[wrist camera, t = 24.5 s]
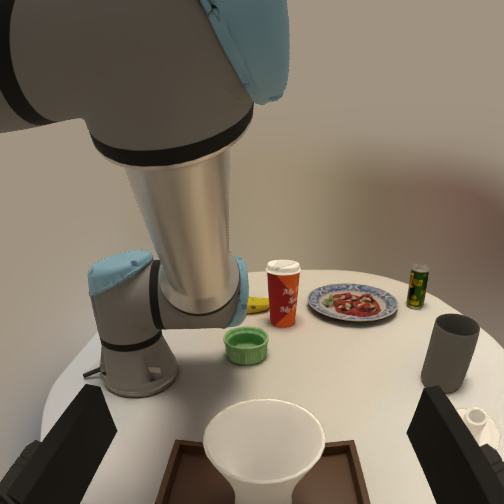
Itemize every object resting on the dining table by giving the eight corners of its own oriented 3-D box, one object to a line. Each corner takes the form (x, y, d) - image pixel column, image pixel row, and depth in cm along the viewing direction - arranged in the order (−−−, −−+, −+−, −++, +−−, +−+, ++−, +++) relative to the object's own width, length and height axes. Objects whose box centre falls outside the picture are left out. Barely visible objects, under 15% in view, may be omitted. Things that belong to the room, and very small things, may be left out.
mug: (453, 400, 39) (475, 341, 36) (412, 383, 46) (427, 326, 43) (472, 364, 47) (488, 312, 44) (436, 352, 54) (449, 302, 51)
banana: (276, 298, 78) (269, 287, 93) (208, 296, 77) (212, 285, 92) (275, 315, 78) (269, 301, 93) (208, 313, 77) (212, 299, 92)
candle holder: (509, 444, 25) (522, 424, 24) (456, 475, 24) (469, 456, 23) (473, 404, 37) (481, 384, 36) (421, 424, 36) (429, 404, 35)
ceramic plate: (398, 295, 86) (399, 286, 86) (395, 334, 64) (397, 323, 64) (320, 285, 98) (321, 277, 97) (293, 318, 76) (294, 308, 75)
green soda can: (409, 300, 82) (414, 262, 79) (425, 304, 78) (431, 265, 75) (403, 306, 78) (409, 266, 75) (420, 311, 75) (426, 270, 72)
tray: (150, 547, 19) (143, 539, 18) (178, 451, 35) (175, 439, 34) (372, 549, 17) (379, 542, 17) (350, 451, 34) (353, 439, 33)
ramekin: (230, 370, 55) (228, 351, 54) (220, 347, 63) (219, 329, 62) (274, 362, 57) (275, 343, 56) (260, 341, 66) (260, 323, 65)
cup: (223, 468, 31) (213, 395, 28) (306, 470, 31) (319, 397, 27) (211, 534, 21) (191, 477, 18) (310, 537, 20) (332, 481, 17)
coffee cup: (290, 332, 69) (292, 271, 65) (259, 325, 73) (259, 266, 69) (304, 318, 76) (306, 261, 72) (275, 312, 80) (275, 257, 76)
